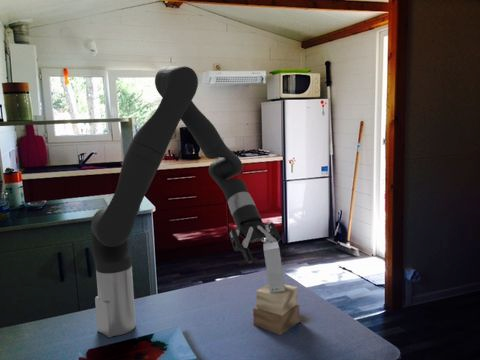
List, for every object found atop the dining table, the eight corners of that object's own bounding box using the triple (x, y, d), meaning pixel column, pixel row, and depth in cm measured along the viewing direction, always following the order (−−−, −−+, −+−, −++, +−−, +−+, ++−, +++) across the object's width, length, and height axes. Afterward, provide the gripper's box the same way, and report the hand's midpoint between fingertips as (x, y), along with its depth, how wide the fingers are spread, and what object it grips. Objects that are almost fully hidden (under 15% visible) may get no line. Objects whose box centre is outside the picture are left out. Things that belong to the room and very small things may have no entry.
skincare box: (285, 291, 109) (279, 248, 108) (269, 293, 109) (263, 250, 108) (283, 282, 115) (277, 241, 114) (268, 284, 115) (262, 243, 114)
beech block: (282, 315, 107) (281, 297, 107) (256, 308, 112) (256, 290, 111) (297, 304, 114) (297, 287, 113) (272, 297, 118) (272, 281, 118)
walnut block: (280, 335, 107) (280, 317, 106) (253, 325, 113) (253, 307, 112) (299, 322, 114) (299, 305, 113) (273, 313, 120) (272, 296, 119)
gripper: (225, 206, 116) (246, 257, 107) (269, 200, 122) (291, 248, 114) (218, 221, 121) (237, 270, 113) (260, 214, 128) (281, 261, 119)
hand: (264, 259), depth 113 cm, fingers open, 8 cm apart
